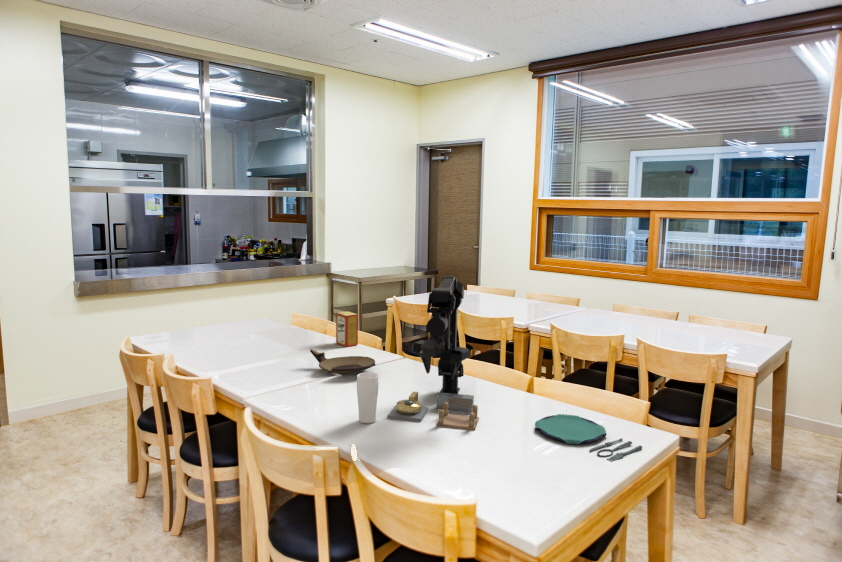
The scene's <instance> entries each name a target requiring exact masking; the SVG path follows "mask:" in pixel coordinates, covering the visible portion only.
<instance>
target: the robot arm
mask: <svg viewBox="0 0 842 562" xmlns="http://www.w3.org/2000/svg"><path fill="white" fill-rule="evenodd" d="M464 289H465V288H464V284H463V283H462V282H460V281H459V280H458V278H457V277H456V276H450V275H449V276H448V275H446V276H442V278H441V282H440V283H439V286H438V287H435V288H433V289H431V291H430V292H429V294H428V301H427V309H426V313H428V314H429V313H430V314H431V317H430V319H428V321H427V323H426V330H427V332H428V333H429V334H428V339H426V340H423V339H421V340H418V341H416V342H414V343H412V345H411V351H412V352H414V353H415V355H417V356H418V357H420V359H421V361H422V362H423V363H422V364H423V367H424V369H425V372H426V374H430V372H431V367H432V365H431V363H432V358H435V357H436V356H437V355H438V354H441V355H440V356H439V359H438V361H437V373H438V375H437V376H438V377H440V376H441V377H442V386H441V389H440V390H439V392H441V393H451V394H459V392H460V390H461V387H459V378H462V377H464V365H463V361H464V360H467V359H468V358H470V357H471V351H470V349H469V348H468V347H463V346H457V332H458V331H457V330H458V309H459V308H460V306H461V304H462V303H463V299H464V298H465V297H464V296H465V290H464Z"/></svg>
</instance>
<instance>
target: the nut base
mask: <svg viewBox="0 0 842 562" xmlns="http://www.w3.org/2000/svg"><path fill="white" fill-rule="evenodd" d="M396 407H397V404H395V406H394V407H393V408H392V409H391V411H390V412H389V413H388V414H387V419H392V420H401V421H409V422H410V421H411V422H419V423H421V422H422V421H423V419H424V417H425V416H426V414H427V413H428V411H429V410H430V409H429V408H430V407H429V406H424V405H423V406H422V405H421V411H420V412H419V413H417V414H412V415H406V414H401V413H398V412H397V410H396Z"/></svg>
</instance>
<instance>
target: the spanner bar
mask: <svg viewBox="0 0 842 562" xmlns="http://www.w3.org/2000/svg"><path fill="white" fill-rule="evenodd" d="M474 397H475V396H474V395H471V394H461V393H458V394H451V393H441V392H440V391H439V392H438V393H437V394H436V410H438V411H439V410H443V402H448V412H449V411H450V412H456V413H457V412H458V413H468V414H469V413H472V411H473V405H475V404H474V402H475V399H474Z"/></svg>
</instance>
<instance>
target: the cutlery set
mask: <svg viewBox="0 0 842 562" xmlns="http://www.w3.org/2000/svg"><path fill="white" fill-rule="evenodd" d="M534 425H535V427H534V429H535V430H537V428H538V431H540V433H542V434H544V435H545V436H547V437H549V438H552V439H555V440H558V441H562V442H564V443H566V444H568V445H569V444H570V445H576V446H577V445H580V444H581V443H591V442H596V441H599V440H600V439H602V438H603V436H607V432H606V428H605V427H604V425H600V424H599V423H596V422H595V421H592V420H591V419H587V418H584V417H581V416H579V415H574V414H566V413H565V414H564V413H563V414H561V413H558V414H555V415H548V416H545V417H543V418H540V419H538V420H536V421H535V424H534ZM620 441H622V442H623V438H622V437H620V438H619V439H616V440H613V441H607V442H605V443H604V444H601V445H598V446H597V445H596V446H594V447H591V448H590V449H589V452H590V453H591V452H595V451H597V450H598V451H597V452H596V453H597V456H600V457H608V458H607V459H606V460H607V461H609V462H615V461H618V460H621V459H623V458H624V456H626V455H630V454H632V453H636V452H637V451H639V450H642V449H643V445H637V446H635V447H634V448H632V449H630V450H628V451H624V452H617V453H616V454H614V455H613V453H614V451H616V450H619V449H621V448H624V447H626V446H629V445H632V443H633V441H630V440H628V441H626V442H623V443H622V444H620V445H618V446H616V447H614V448H612V449H610V448H606V447H610V446H611V445H613V444H615V443H617V442H620ZM602 448H604V449H602ZM603 452H609V453H610V454H606V455H604V454H603V455H602V454H600V453H603ZM611 455H612V456H611ZM609 456H611V457H609Z"/></svg>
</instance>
